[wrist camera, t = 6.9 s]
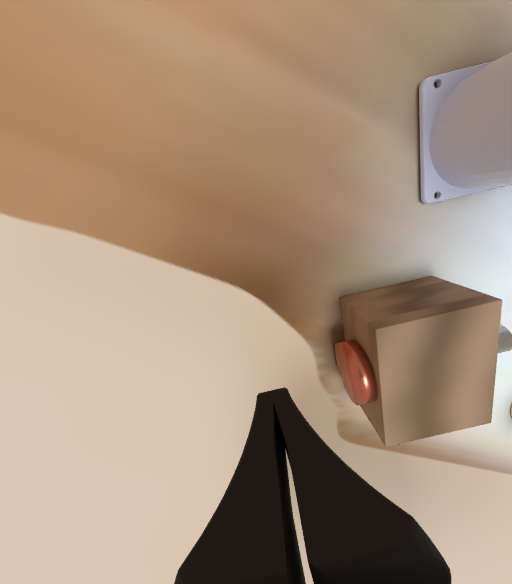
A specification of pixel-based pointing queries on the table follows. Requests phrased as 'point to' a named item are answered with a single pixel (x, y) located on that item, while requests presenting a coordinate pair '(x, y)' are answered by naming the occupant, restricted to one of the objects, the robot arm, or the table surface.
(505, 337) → the pin
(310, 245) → the table surface
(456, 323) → the block
